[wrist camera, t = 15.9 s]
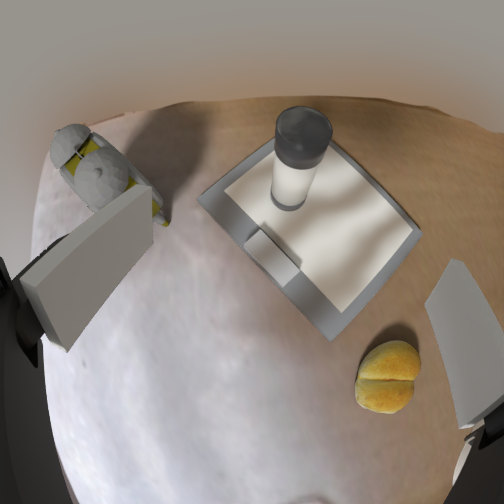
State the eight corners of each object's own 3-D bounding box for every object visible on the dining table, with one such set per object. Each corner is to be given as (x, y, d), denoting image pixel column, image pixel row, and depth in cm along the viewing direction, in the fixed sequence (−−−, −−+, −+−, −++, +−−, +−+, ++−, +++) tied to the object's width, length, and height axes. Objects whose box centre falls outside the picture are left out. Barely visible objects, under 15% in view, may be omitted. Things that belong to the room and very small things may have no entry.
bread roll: (419, 344, 29) (437, 347, 25) (399, 410, 27) (414, 419, 23) (365, 333, 29) (379, 336, 25) (343, 404, 28) (354, 416, 24)
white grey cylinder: (313, 196, 31) (343, 130, 18) (288, 219, 31) (307, 160, 18) (287, 172, 32) (302, 98, 19) (262, 193, 31) (264, 124, 19)
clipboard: (419, 235, 31) (428, 230, 29) (328, 340, 29) (334, 343, 27) (301, 121, 35) (304, 110, 32) (198, 202, 33) (194, 194, 30)
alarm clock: (181, 219, 32) (131, 155, 17) (144, 263, 31) (70, 228, 16) (125, 170, 34) (68, 104, 19) (92, 208, 33) (22, 158, 18)
